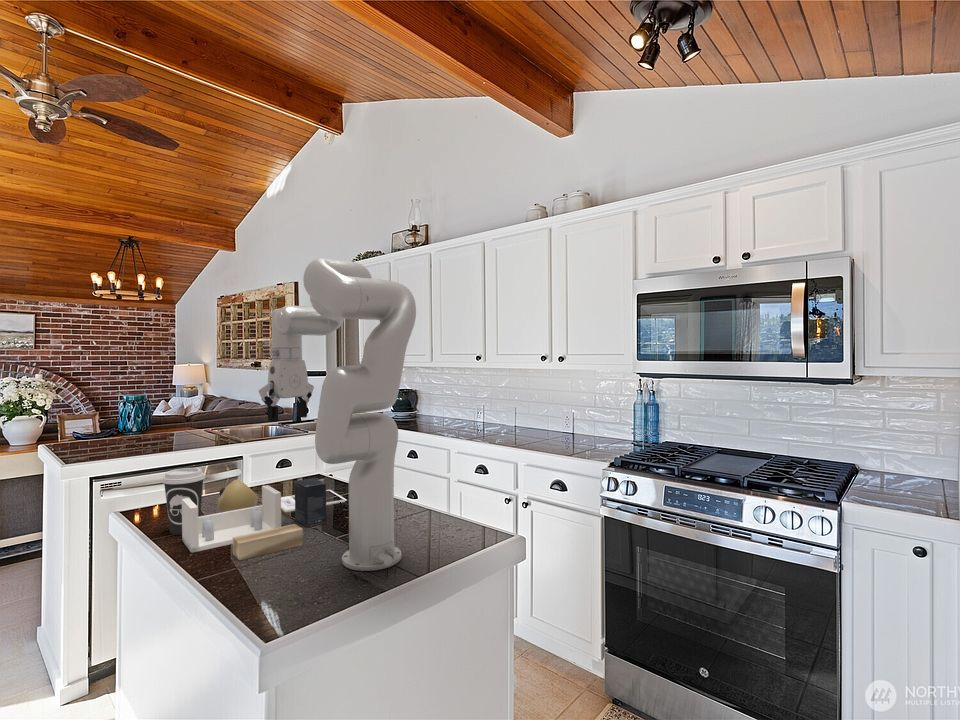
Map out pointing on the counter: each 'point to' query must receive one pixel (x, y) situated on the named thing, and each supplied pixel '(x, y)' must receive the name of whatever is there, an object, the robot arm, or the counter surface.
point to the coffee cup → (182, 493)
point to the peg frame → (229, 522)
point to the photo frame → (289, 502)
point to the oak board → (267, 541)
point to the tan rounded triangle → (236, 497)
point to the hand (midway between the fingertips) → (288, 419)
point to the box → (310, 502)
